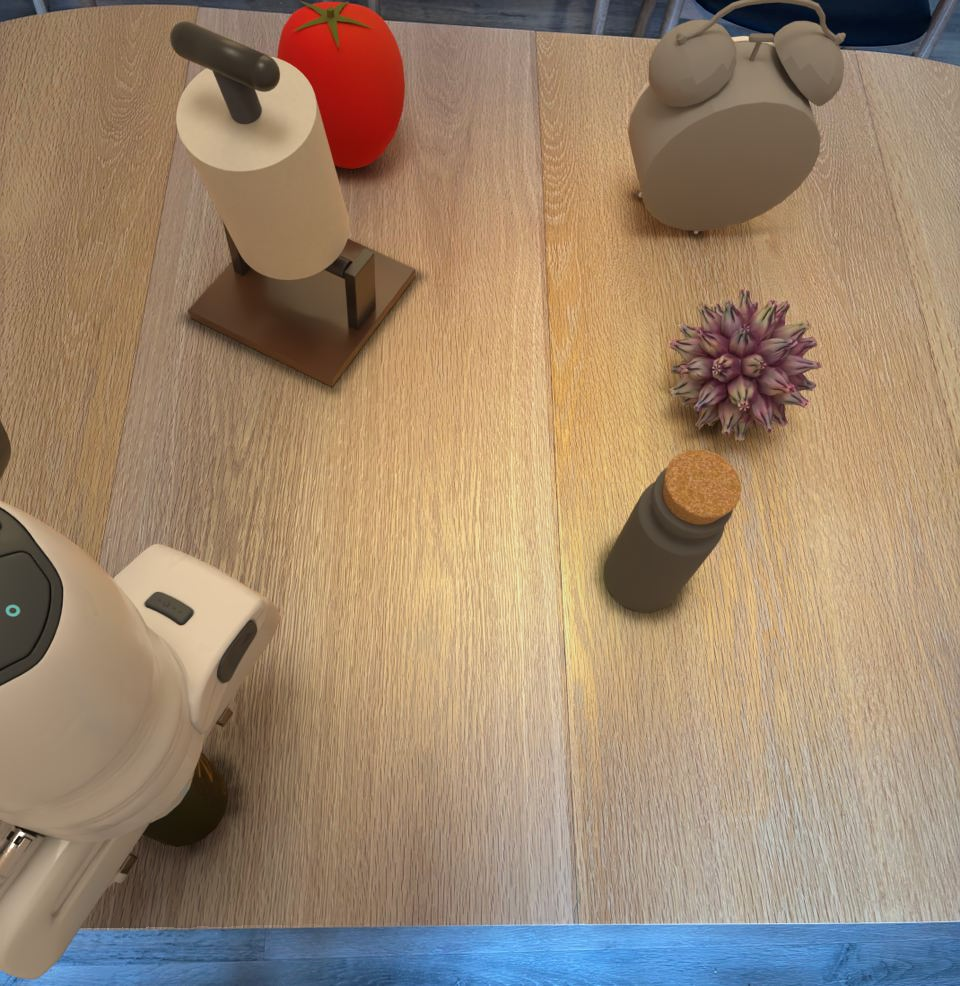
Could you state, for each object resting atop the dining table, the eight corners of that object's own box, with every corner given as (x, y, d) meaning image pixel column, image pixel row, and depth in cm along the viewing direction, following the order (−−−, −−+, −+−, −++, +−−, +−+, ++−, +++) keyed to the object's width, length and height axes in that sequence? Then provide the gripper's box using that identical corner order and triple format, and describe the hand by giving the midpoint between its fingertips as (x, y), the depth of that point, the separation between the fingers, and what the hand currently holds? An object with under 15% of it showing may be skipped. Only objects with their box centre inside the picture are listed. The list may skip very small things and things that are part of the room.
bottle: (669, 624, 63) (742, 538, 50) (594, 597, 64) (646, 506, 51) (685, 556, 66) (758, 458, 53) (613, 531, 67) (667, 428, 53)
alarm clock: (758, 182, 87) (862, -38, 68) (782, 246, 83) (900, 31, 64) (600, 184, 85) (661, -42, 65) (617, 250, 81) (687, 29, 61)
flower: (787, 461, 73) (670, 474, 68) (734, 346, 78) (621, 351, 73) (880, 384, 63) (752, 393, 59) (813, 258, 68) (689, 258, 64)
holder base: (282, 215, 79) (272, 148, 72) (415, 276, 77) (417, 213, 70) (189, 318, 73) (169, 254, 66) (332, 387, 71) (325, 329, 64)
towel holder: (224, 273, 70) (282, 188, 72) (321, 319, 69) (377, 232, 71) (109, 71, 49) (195, -40, 51) (246, 131, 48) (327, 15, 50)
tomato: (262, 124, 84) (240, -19, 72) (364, 90, 88) (359, -51, 76) (323, 207, 80) (311, 70, 68) (428, 168, 84) (434, 31, 71)
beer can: (187, 867, 53) (135, 846, 42) (124, 812, 54) (58, 779, 44) (247, 793, 55) (213, 756, 45) (186, 742, 56) (138, 695, 46)
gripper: (-21, 1019, 32) (98, 1000, 44) (284, 572, 41) (313, 658, 53) (-153, 932, 33) (-1, 937, 45) (174, 514, 42) (227, 612, 54)
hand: (171, 783), depth 49 cm, fingers open, 8 cm apart
